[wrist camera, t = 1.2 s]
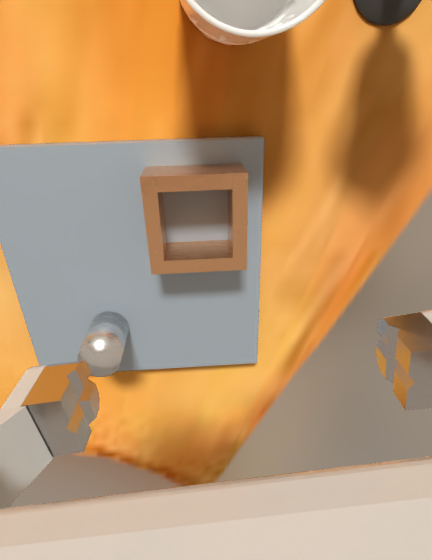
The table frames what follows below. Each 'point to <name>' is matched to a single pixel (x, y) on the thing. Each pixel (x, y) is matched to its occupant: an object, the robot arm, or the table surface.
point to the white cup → (247, 18)
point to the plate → (127, 250)
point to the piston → (104, 343)
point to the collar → (195, 253)
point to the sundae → (385, 10)
